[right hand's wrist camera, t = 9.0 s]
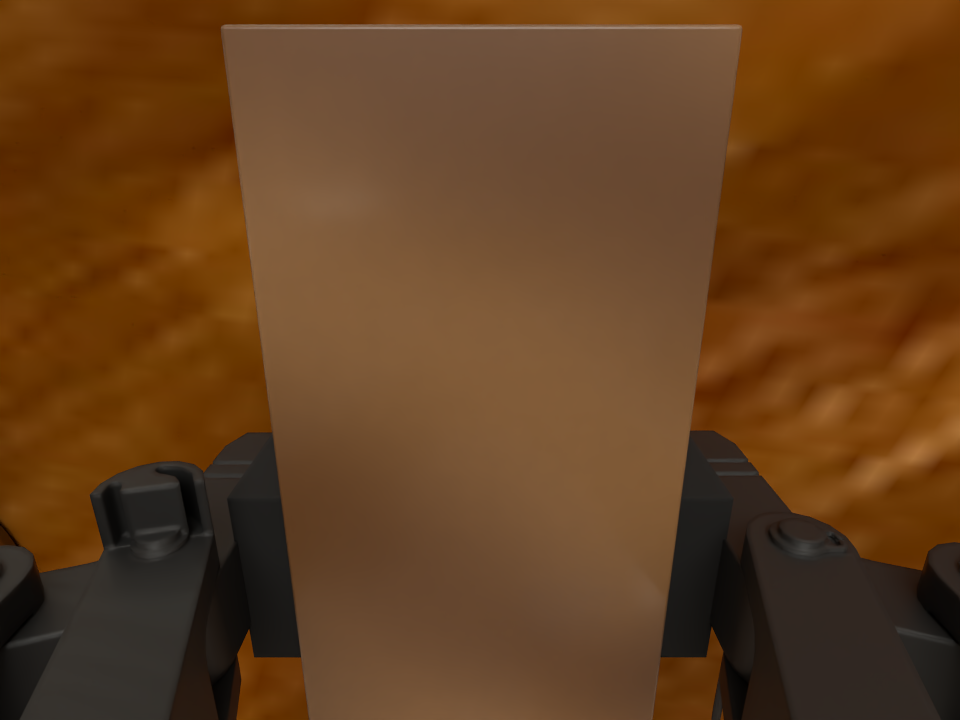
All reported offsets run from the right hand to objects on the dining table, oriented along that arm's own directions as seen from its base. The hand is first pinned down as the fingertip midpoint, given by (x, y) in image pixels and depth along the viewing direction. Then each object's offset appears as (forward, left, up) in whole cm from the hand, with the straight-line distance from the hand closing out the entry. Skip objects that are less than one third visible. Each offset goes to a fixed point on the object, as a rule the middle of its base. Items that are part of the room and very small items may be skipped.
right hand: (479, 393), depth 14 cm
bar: (+2, -21, 0) cm, 22 cm away
